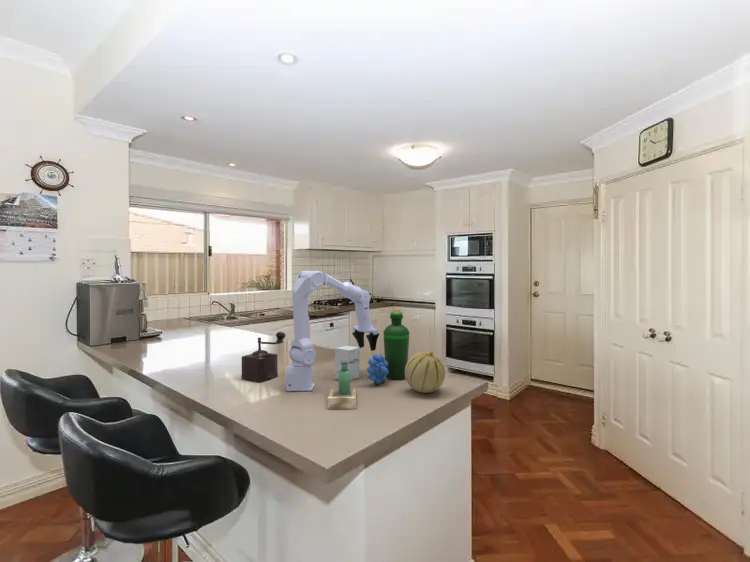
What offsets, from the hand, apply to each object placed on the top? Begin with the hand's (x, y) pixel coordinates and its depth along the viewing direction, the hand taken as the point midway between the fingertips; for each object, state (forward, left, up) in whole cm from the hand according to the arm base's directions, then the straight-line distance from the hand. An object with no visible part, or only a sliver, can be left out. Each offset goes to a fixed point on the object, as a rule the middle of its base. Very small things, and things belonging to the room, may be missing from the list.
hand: (367, 348), depth 172 cm
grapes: (+5, -16, -11) cm, 20 cm away
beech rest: (-8, -35, -11) cm, 38 cm away
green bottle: (-8, -26, -11) cm, 30 cm away
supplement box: (-8, -7, -11) cm, 15 cm away
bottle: (+12, -6, -11) cm, 17 cm away
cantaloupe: (+21, -25, -11) cm, 35 cm away
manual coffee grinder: (-42, -4, -11) cm, 44 cm away
